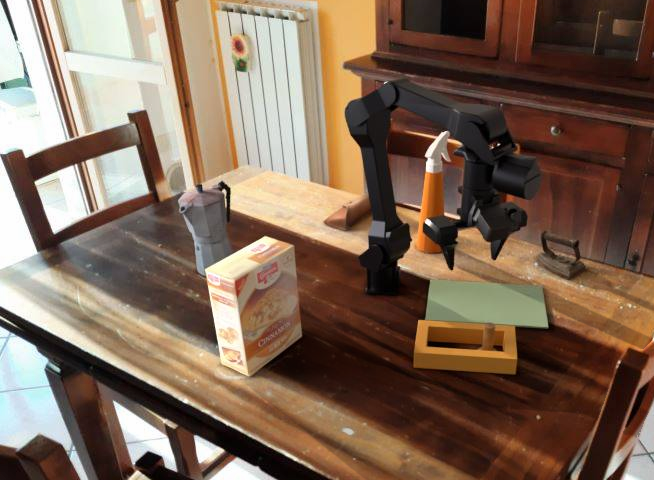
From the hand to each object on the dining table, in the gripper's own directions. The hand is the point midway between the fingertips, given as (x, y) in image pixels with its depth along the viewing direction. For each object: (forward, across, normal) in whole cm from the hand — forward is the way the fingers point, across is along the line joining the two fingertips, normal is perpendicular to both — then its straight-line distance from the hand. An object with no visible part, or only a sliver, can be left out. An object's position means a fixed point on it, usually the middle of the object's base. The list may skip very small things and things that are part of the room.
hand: (472, 264), depth 121 cm
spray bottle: (+13, +10, +33) cm, 37 cm away
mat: (+13, +7, +5) cm, 16 cm away
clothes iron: (+13, +30, +12) cm, 35 cm away
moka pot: (+14, -39, +44) cm, 60 cm away
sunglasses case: (+14, -1, +56) cm, 58 cm away
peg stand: (+13, -2, -11) cm, 17 cm away
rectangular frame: (+13, -6, -8) cm, 17 cm away
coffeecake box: (+13, -39, +8) cm, 42 cm away
